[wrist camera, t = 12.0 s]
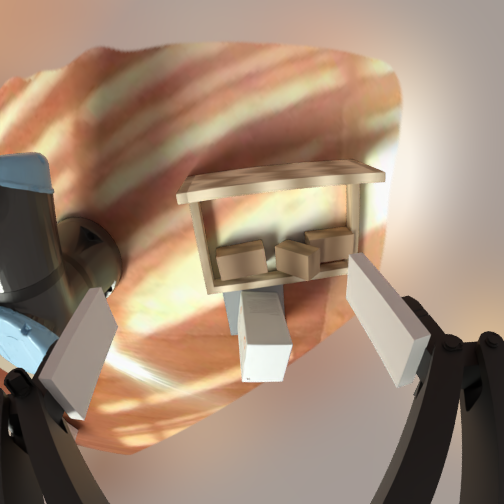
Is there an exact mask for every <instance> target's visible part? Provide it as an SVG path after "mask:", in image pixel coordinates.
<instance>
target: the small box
mask: <svg viewBox="0 0 504 504" xmlns="http://www.w3.org/2000/svg"><path fill="white" fill-rule="evenodd" d="M237 329H238V339H239V351H240V364H241V375H242V382H274V381H275V382H276V381H283V379H284V376H285V372H286V369H287V365H288V361H289V358H290V354H291V350H292V346H293V344H292V340H291V337H290V334H289V330H288V327H287V324H286V320H285V317H284V313H283V310H282V307H281V303H280V300H279V297H278V293H276V292H249V291H241V295H240V304H239V314H238V325H237Z"/></svg>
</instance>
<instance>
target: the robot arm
mask: <svg viewBox="0 0 504 504" xmlns="http://www.w3.org/2000/svg"><path fill="white" fill-rule="evenodd" d="M53 193H54V189H53V188H52V184H51V177H50V169H49V163H48V160H47V159H46V157H45V156H44V155H42V154H41V153H37V152H29V153H16V154H7V155H0V355H2V356H3V357H4V358H5V359H6V360H8V361H9V362H11V363H12V364H13V365H15V366H16V367H18V368H16V369H13V370H12V371H10V372H9V373H8V374H7V376H6V377H5V380H4V385H5V386H6V388H7V389H8V390H9V391H10V392H11V394H8V395H6V393H5V392H4V391H3V390H2V389H1V388H0V504H44V499H43V496H44V498H45V501H46V503H47V504H110V503H109V502H108V500H107V499H106V497H105V496H104V494H103V493H102V491H101V489H100V488H99V486H98V484H97V483H96V481H95V480H94V477H93V476H92V474H91V472H90V470H89V468H88V466H87V464H86V463H85V461H84V459H83V457H82V455H81V453H80V451H79V449H78V447H77V445H76V442H75V440H74V438H73V436H72V434H71V432H70V429H69V427H68V425H67V422H66V421H65V419H64V418H63V417H62V416H63V413H64V411H65V412H66V413H67V414H68V416H69V417H70V418H71V419H78V420H85V416H86V413H87V410H88V407H89V404H90V401H91V398H92V395H93V392H94V389H95V386H96V383H97V380H98V377H99V375H100V372H101V369H102V366H103V364H104V361H105V358H106V356H107V353H108V351H109V348H110V345H111V343H112V340H113V338H114V335H115V333H116V330H117V328H118V326H117V324H116V321H115V319H114V317H113V315H112V312H111V310H110V308H109V305H108V303H107V300H106V298H107V297H109V296H110V295H111V293H112V292H113V291H114V289H115V288H116V286H117V284H118V282H119V280H120V277H121V273H122V261H121V256H120V253H119V250H118V247H117V245H116V244H115V242H114V240H113V239H112V237H111V236H110V235H109V234H108V233H107V232H106V231H105V230H104V229H103V228H102V227H101V226H99V225H98V224H96V223H95V222H93V221H91V220H88V219H85V218H80V217H72V218H67V219H65V220H62V221H61V222H59V223H58V224H57V221H56V214H55V206H54V198H53ZM346 299H347V301H348V302H349V304H350V306H351V307H352V309H353V311H354V312H355V314H356V316H357V317H358V319H359V321H360V323H361V324H362V326H363V328H364V330H365V331H366V333H367V335H368V336H369V338H370V340H371V342H372V344H373V345H374V347H375V349H376V351H377V352H378V354H379V356H380V358H381V360H382V361H383V363H384V365H385V367H386V369H387V370H388V372H389V374H390V376H391V378H392V380H393V382H394V383H395V385H396V387H397V388H398V387H401V386H404V385H407V384H410V383H412V382H413V380H414V378H415V375H416V374H417V375H418V377H419V379H420V382H419V384H418V386H417V388H416V390H415V393H414V396H415V397H414V400H413V404H412V407H411V410H410V413H409V416H408V419H407V422H406V425H405V427H404V430H403V433H402V435H401V438H400V441H399V443H398V446H397V448H396V451H395V453H394V455H393V458H392V460H391V462H390V465H389V467H388V469H387V471H386V474H385V476H384V478H383V480H382V482H381V484H380V486H379V488H378V490H377V492H376V494H375V496H374V498H373V500H372V501H371V503H370V504H431V501H432V498H433V496H434V493H435V491H436V488H437V485H438V482H439V479H440V476H441V473H442V470H443V467H444V463H445V460H446V457H447V453H448V450H449V446H450V442H451V438H452V433H453V429H454V425H455V420H456V415H457V410H458V404H459V398H460V409H461V424H462V479H461V492H460V503H459V504H504V341H503V339H502V337H500V336H499V335H498V334H496V333H494V332H490V331H487V332H484V333H482V334H481V336H480V338H479V340H478V342H465V343H464V342H463V341H462V340H461V339H460V338H458V337H457V336H454V335H451V334H445V333H444V332H443V331H442V329H441V328H440V327H439V326H438V324H437V323H436V322H435V321H434V320H433V318H432V317H431V316H430V315H428V313H427V311H426V310H425V309H424V308H423V307H422V306H421V304H420V303H419V302H418V301H417V300H415V299H413V298H412V297H410V296H405V297H400V295H399V294H398V293H397V292H396V291H395V289H394V288H393V287H392V286H391V285H390V283H389V282H388V281H387V280H386V279H385V278H384V276H383V275H382V274H381V273H380V272H379V271H378V270H377V268H376V267H375V266H374V265H373V264H372V263H371V262H370V261H369V259H368V258H367V257H366V256H365V255H364V254H363V253H355V254H349V263H348V279H347V293H346ZM27 372H29V373H32V374H34V377H33V378H32V379H31V378H30V377H29V375H28V374H27ZM8 429H9V430H10V431H11V436H9V432H8Z"/></svg>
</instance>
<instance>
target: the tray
mask: <svg viewBox="0 0 504 504" xmlns="http://www.w3.org/2000/svg"><path fill="white" fill-rule="evenodd" d="M376 182H385V172H383V171H381V170H379V169H376V168H374V167H371V166H369V165H366V164H364V163H361V162H359V161H356V160H353V159H349V160H330V161H315V162H302V163H290V164H280V165H270V166H261V167H252V168H244V169H236V170H228V171H221V172H214V173H207V174H201V175H194V176H188V177H187V178H186V179H185V181H184V182H183V184H182V186H181V187H180V189H179V190H178V192H177V194H176V197H177V202H178V205H179V204H186V203H189V205H190V211H191V216H192V221H193V227H194V232H195V237H196V242H197V247H198V252H199V257H200V261H201V266H202V271H203V276H204V280H205V285H206V289H207V294H216V293H224V292H231V291H239V290H246V289H254V288H261V287H268V286H275V285H282V284H289V283H295V282H302V281H306V280H303V279H301V278H298V277H295V276H292V275H290V274H287V273H284V272H282V271H272V272H268V273H263V274H258V275H252V276H247V277H242V278H236V279H231V280H225V281H222V280H221V278H220V279H214V275H213V270H212V265H211V260H210V255H209V250H208V244H207V239H206V233H205V228H204V222H203V217H202V211H201V205H200V201H205V200H212V199H219V198H226V197H233V196H241V195H249V194H257V193H265V192H274V191H283V190H292V189H302V188H312V187H323V186H335V185H346V227H347V228H348V229H349V230H350V231H351V232H352V233H353V234H354V243H353V254H355V253H358V238H359V210H360V184H361V183H376ZM348 263H349V258H348V259H345V261H340V262H333V263H327V264H320V273H318V274H317V275H316V276H315V277H313V278H312V279H311V280H315V279H321V278H327V277H334V276H340V275H346V274H348Z"/></svg>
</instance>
